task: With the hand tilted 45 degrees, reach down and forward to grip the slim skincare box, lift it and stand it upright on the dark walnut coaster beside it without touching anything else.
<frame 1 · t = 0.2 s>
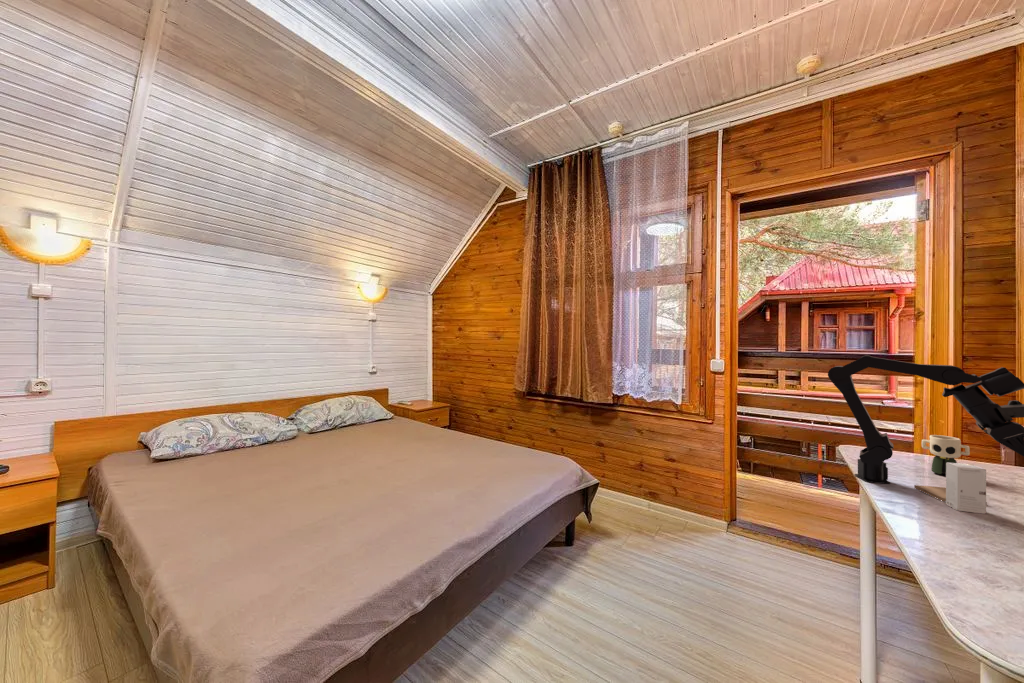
skincare box: (965, 509, 102), on the table
walnut coaster: (948, 496, 111), on the table
character mug: (944, 475, 129), on the table
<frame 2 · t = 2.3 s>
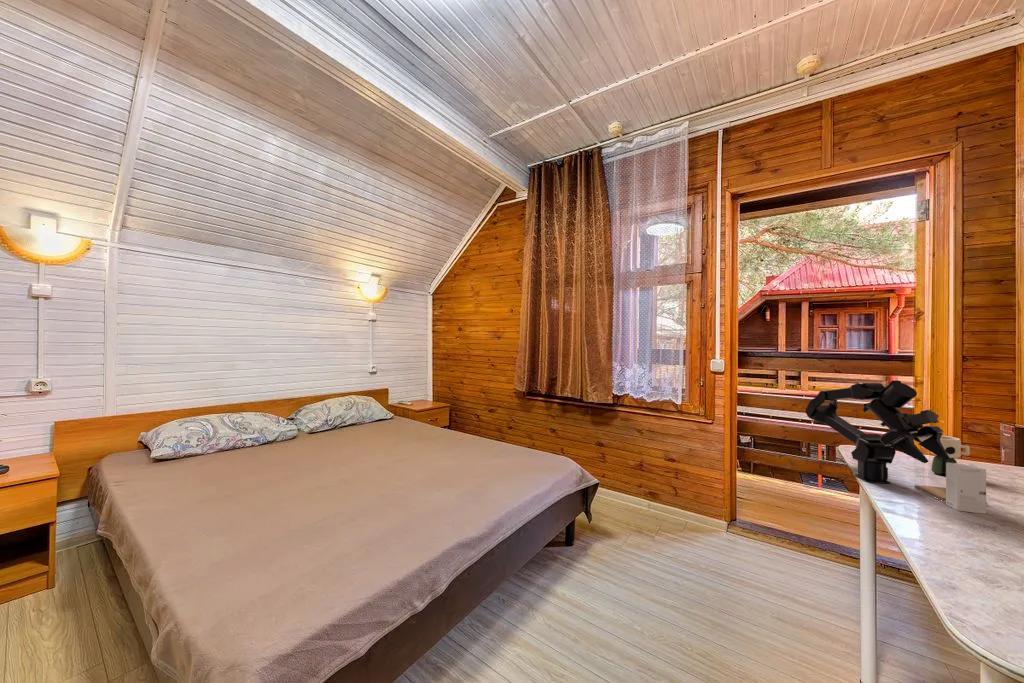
hand: (937, 461, 108), 12 cm above the table, tool tilted 45°, fingers open, 9 cm apart
nothing on the table moved.
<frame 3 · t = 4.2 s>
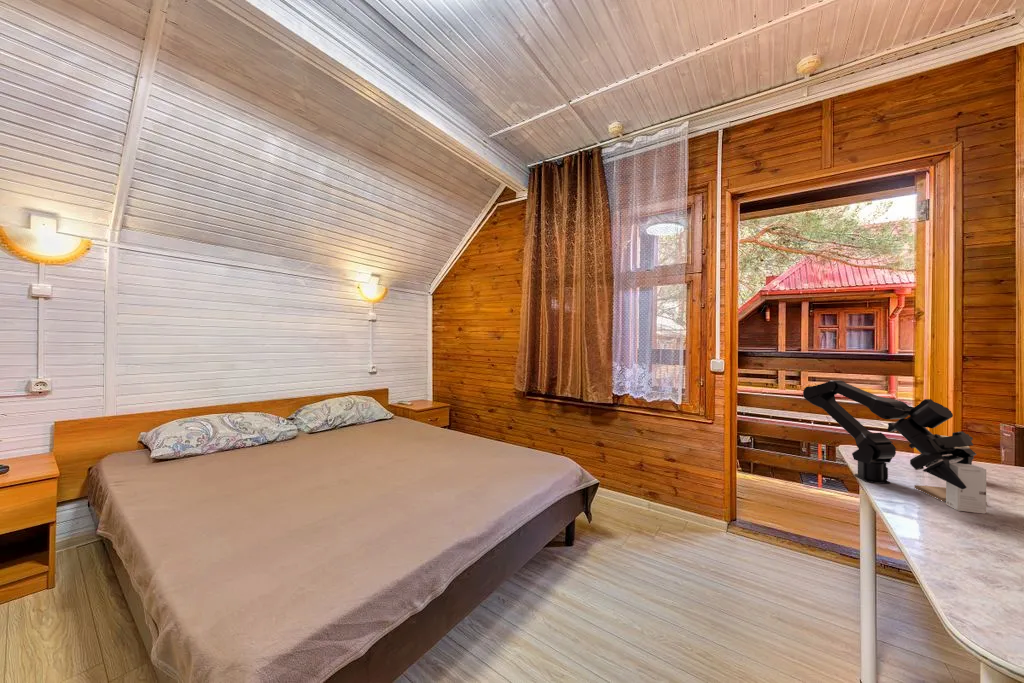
hand: (973, 487, 101), 7 cm above the table, tool tilted 45°, fingers closed on skincare box, 7 cm apart
skincare box: (965, 509, 102), on the table, touching gripper
everything else where it was.
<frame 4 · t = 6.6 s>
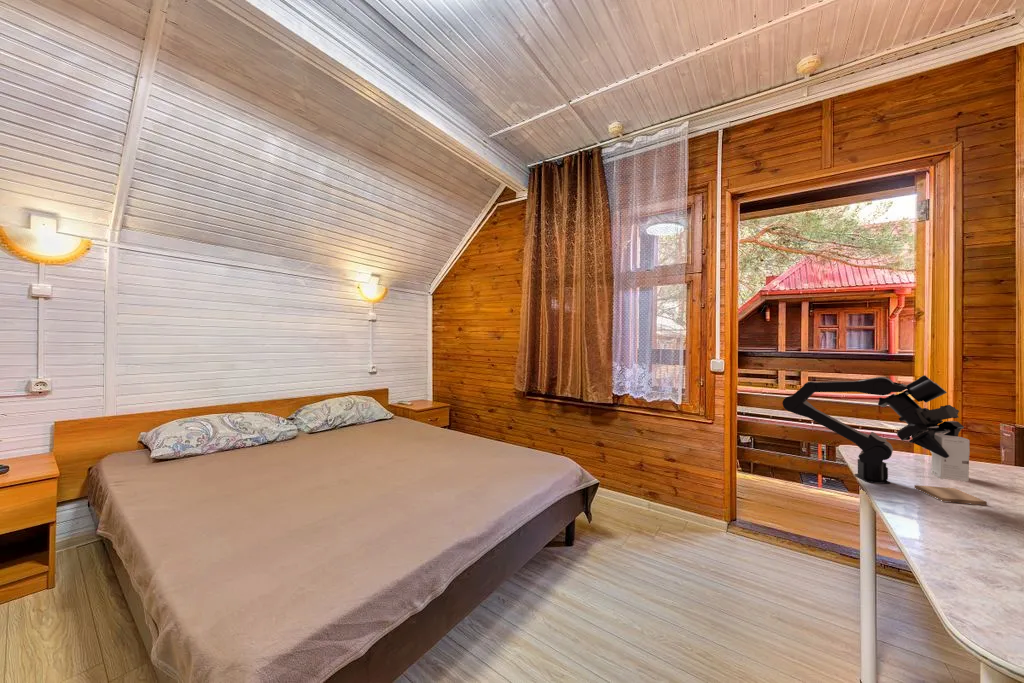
hand: (956, 456, 106), 13 cm above the table, tool tilted 45°, fingers closed on skincare box, 7 cm apart
skincare box: (949, 478, 108), point 6 cm above the table, touching gripper
everything else where it was.
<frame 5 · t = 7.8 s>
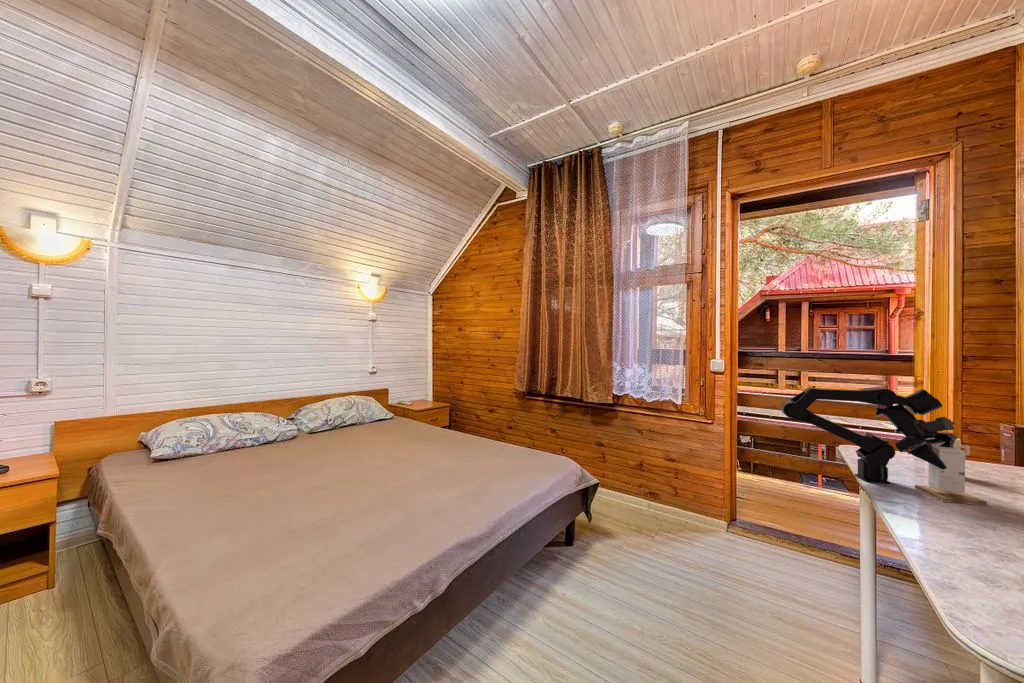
hand: (953, 467, 109), 9 cm above the table, tool tilted 45°, fingers closed on skincare box, 7 cm apart
skincare box: (946, 489, 110), point 2 cm above the table, touching gripper
everything else where it was.
when the fingers open (9 cm above the table, at t = 8.8 s): skincare box drops 1 cm, resting on walnut coaster.
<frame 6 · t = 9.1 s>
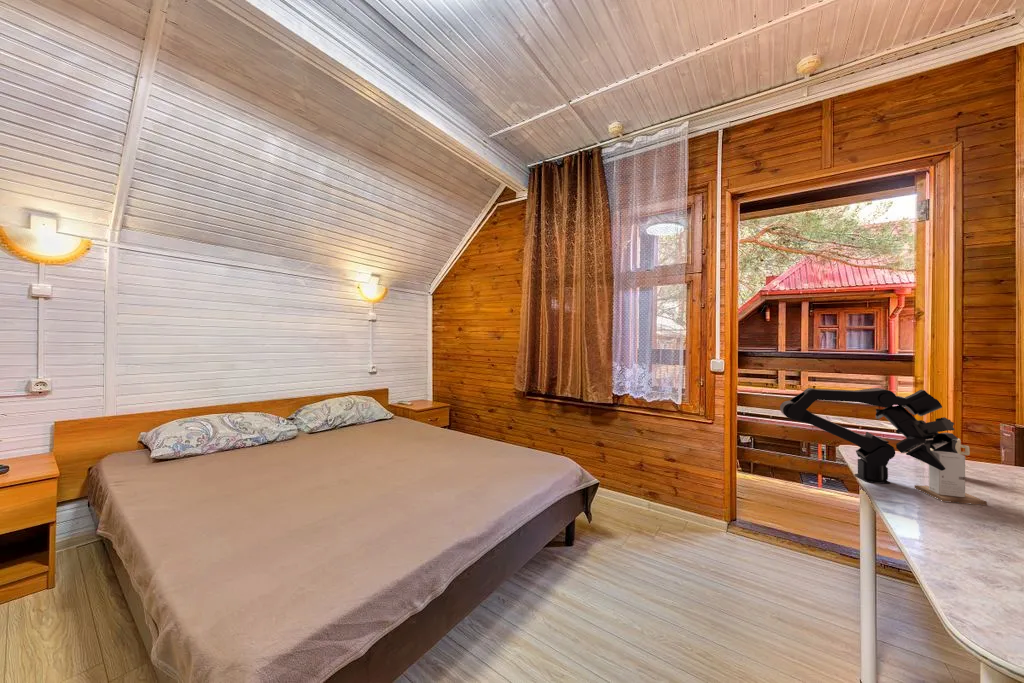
hand: (953, 468, 109), 9 cm above the table, tool tilted 45°, fingers open, 9 cm apart
skincare box: (946, 494, 110), point 1 cm above the table, touching walnut coaster
everything else where it was.
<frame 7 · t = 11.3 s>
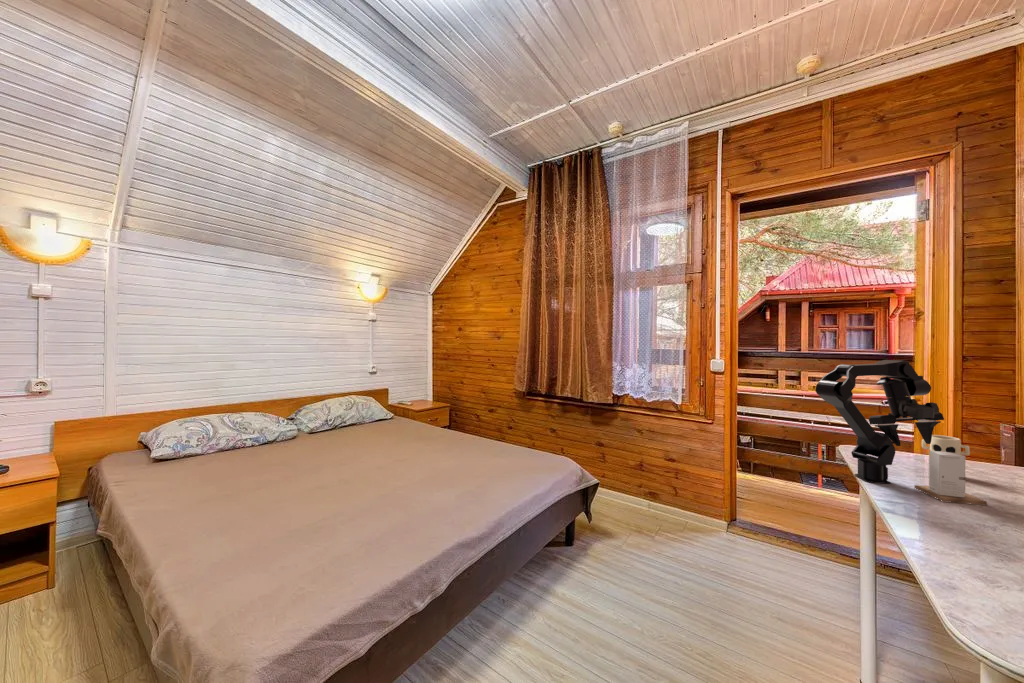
hand: (913, 445, 121), 13 cm above the table, tool pointing down, fingers open, 9 cm apart
nothing on the table moved.
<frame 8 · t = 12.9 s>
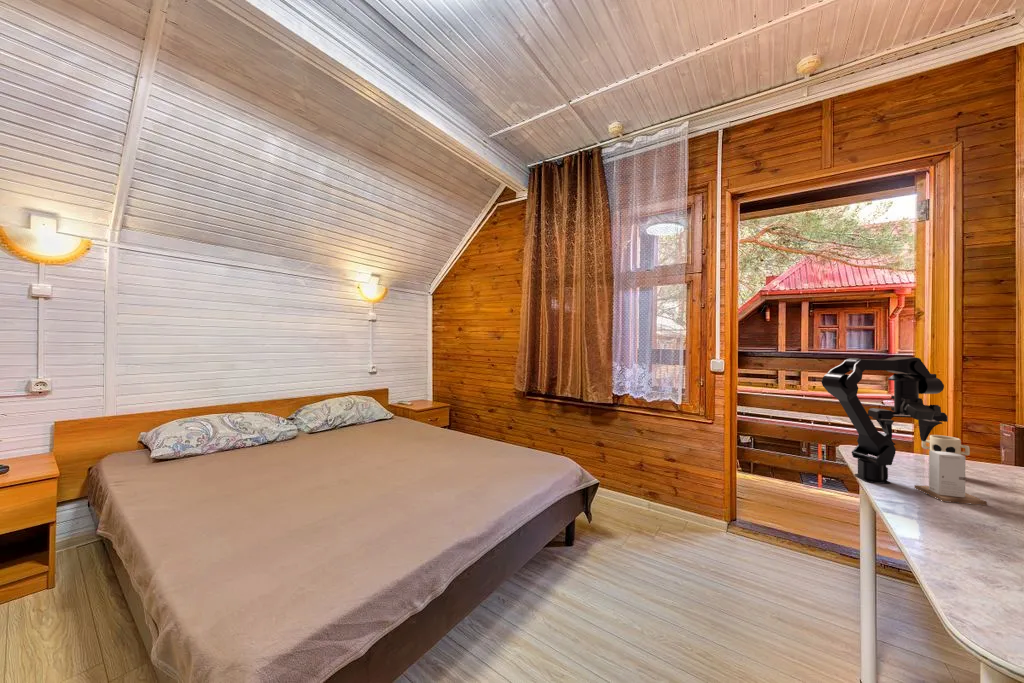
hand: (906, 440, 125), 13 cm above the table, tool pointing down, fingers open, 9 cm apart
nothing on the table moved.
at the end: skincare box inside the target area on the walnut coaster (1.3 cm from its centre), point 0.8 cm above the walnut coaster's base; skincare box tilted 0°; the gripper is holding nothing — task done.
